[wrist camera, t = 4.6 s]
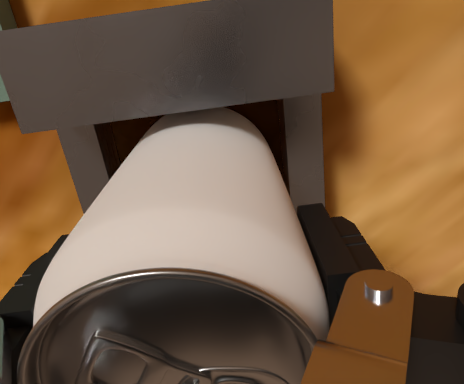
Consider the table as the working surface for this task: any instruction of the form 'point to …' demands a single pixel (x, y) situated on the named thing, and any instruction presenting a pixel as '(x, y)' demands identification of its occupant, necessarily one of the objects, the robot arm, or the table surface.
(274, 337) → the can
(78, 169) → the block
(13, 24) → the mat
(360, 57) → the table surface
